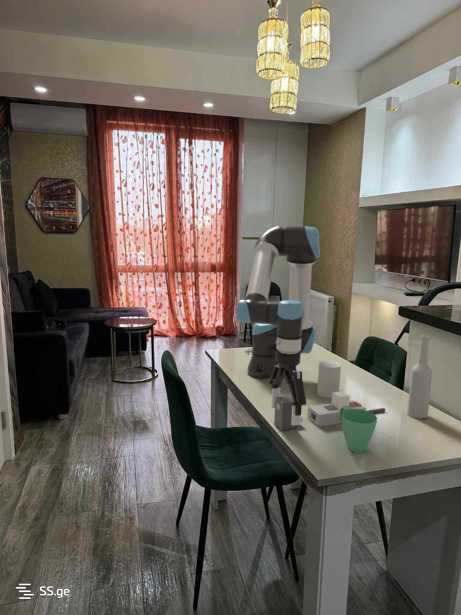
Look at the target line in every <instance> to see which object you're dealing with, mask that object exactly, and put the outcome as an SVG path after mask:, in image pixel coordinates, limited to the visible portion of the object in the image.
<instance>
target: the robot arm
mask: <svg viewBox="0 0 461 615" xmlns="http://www.w3.org/2000/svg"><path fill="white" fill-rule="evenodd" d="M320 248H321V247H320V234H319V230H318V228H317V227H315V226H307V225H305V226H303V225H300V226H299V225H297V226H296V225H294V226H293V225H292V226H291V225H288V226H287V225H286V226H285V225H277V226H274V227H271V228H269V229H268V230H266V231H265V232H264V233H263V234H262V235H260V236H259V238H258V239H257V241H256V243H255V245H254V248H253V255H254V259H253V264H252V269H251V274H250V278H249V282H248V287H247V291H246V296H245V299H238V301H237V304H236V309H235V310H236V311H235V315H236V319H237V321H238V322H239V323H246V324H247V323H248V324H253V326H252V332H251V334H252V337H251V338H252V340H251V341H252V344H251V357H250V361H249V363H248V365H247V370H246V373H247V372H248V373H247V374H248V375H249V376H251V377H254V378H256V379H257V378H258V379H267V380H268V379H269V380H268V384H269V385H270V387H271V388H272V389H271V409H275V397H281V389H282V388H281V387H282V382H284V381H286V384H287V385H288V387H289V391H290V394H291V397H292V398H293V402H294V403H293V404H292V421H291V425H296V426H297V425H301V423H302V422H301V417H302V406H306V405H307V398H306V394H305V388H304V382H303V371H302V370H301V371H299V370H297V366H298V365H300V363H301V354H310V353H311V352H312V350H313V346H314V342H315V336H316V327H315V326H313V321H312V320H310V311H311V308H310V307H311V291H312V290H311V288H312V287H311V286H312V272H313V271H312V270H313V268H312V267H313V265H314V264H315V263H316V262H317V258H320V257H321V249H320ZM279 256H280V257H286V262H287V263H288V264H289V287H288V288H289V291H288V292H289V294H288V299H285V300H284V299H283V300H281V301H268V299H269V294H270V288H271V283H272V277H273V272H274V266H275V261H277V259H278V257H279Z"/></svg>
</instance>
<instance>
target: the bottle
mask: <svg viewBox="0 0 461 615" xmlns="http://www.w3.org/2000/svg"><path fill="white" fill-rule="evenodd" d="M420 337H421V339H420V346H419V348H420V349H419V356H418V360H417V361H418V362H417V363H416V364H415V365H414V366H412V368H411V374H410V383H409V390H408V391H409V393H408V399H407V400H408V401H407V410H406V411H407V412H406V414H407V415H408V416H409V417H411V418H415V419H421V420H424V419H423V418H425V419H427V418H428V417H429V408H430V401H431V400H430V397H431V390H432V378H433V371H432V369H431V368H430V366H429V365H428V357H429V355H428V354H429V353H428V352H429V344H430V338H431V337H430V336H429V335H427V334H421V335H420Z"/></svg>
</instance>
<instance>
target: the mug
mask: <svg viewBox="0 0 461 615" xmlns="http://www.w3.org/2000/svg"><path fill="white" fill-rule="evenodd" d="M341 422H342V423H341V425H342V432H343V435H344V440H345V444H346V446H347V448H348V450H349V451H351V452H354V453H361V454H362V453H364V452H365V451H366V449H367V448H368V446H369V444H370V442H371V439H372V437H373V435H374V432H375V429H376V426H377V422H378V417H377V416H376V414H375V413H371V412H368V411H365V410H361V409H351V408H350V407H349V406H343V407H342V409H341Z"/></svg>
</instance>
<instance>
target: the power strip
mask: <svg viewBox="0 0 461 615" xmlns="http://www.w3.org/2000/svg"><path fill="white" fill-rule="evenodd" d="M349 407H350V408H351V409H361V410H365V411H368V412H371V413H373V414H376V413H383V412H386V408H385V407H380V408H375V409H369V410H367V408H366V407H365V406H363V405H362V403H360V402H359V401H357V400H349ZM307 419H308V420H310V421H311V422H312V423H314V424H315V425H316V426H317V427H325V426H331V425H337V424H342V422H341V410H338V409H337V408H336V407H334V406H332V402H331V403H322V404H316V405H310V406H309V405H308V406H307Z"/></svg>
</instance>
